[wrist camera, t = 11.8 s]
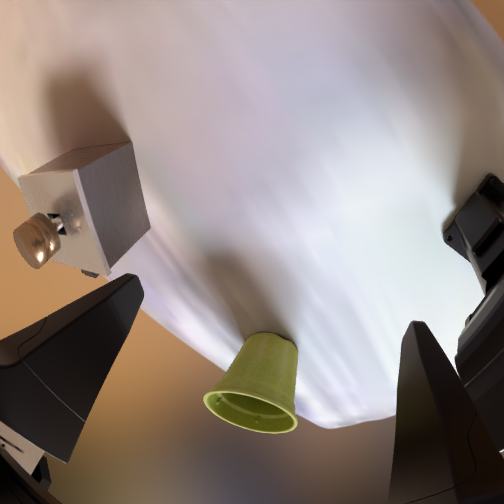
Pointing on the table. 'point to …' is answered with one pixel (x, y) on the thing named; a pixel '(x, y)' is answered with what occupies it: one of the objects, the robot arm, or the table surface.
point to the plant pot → (259, 386)
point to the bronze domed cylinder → (38, 239)
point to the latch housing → (90, 204)
